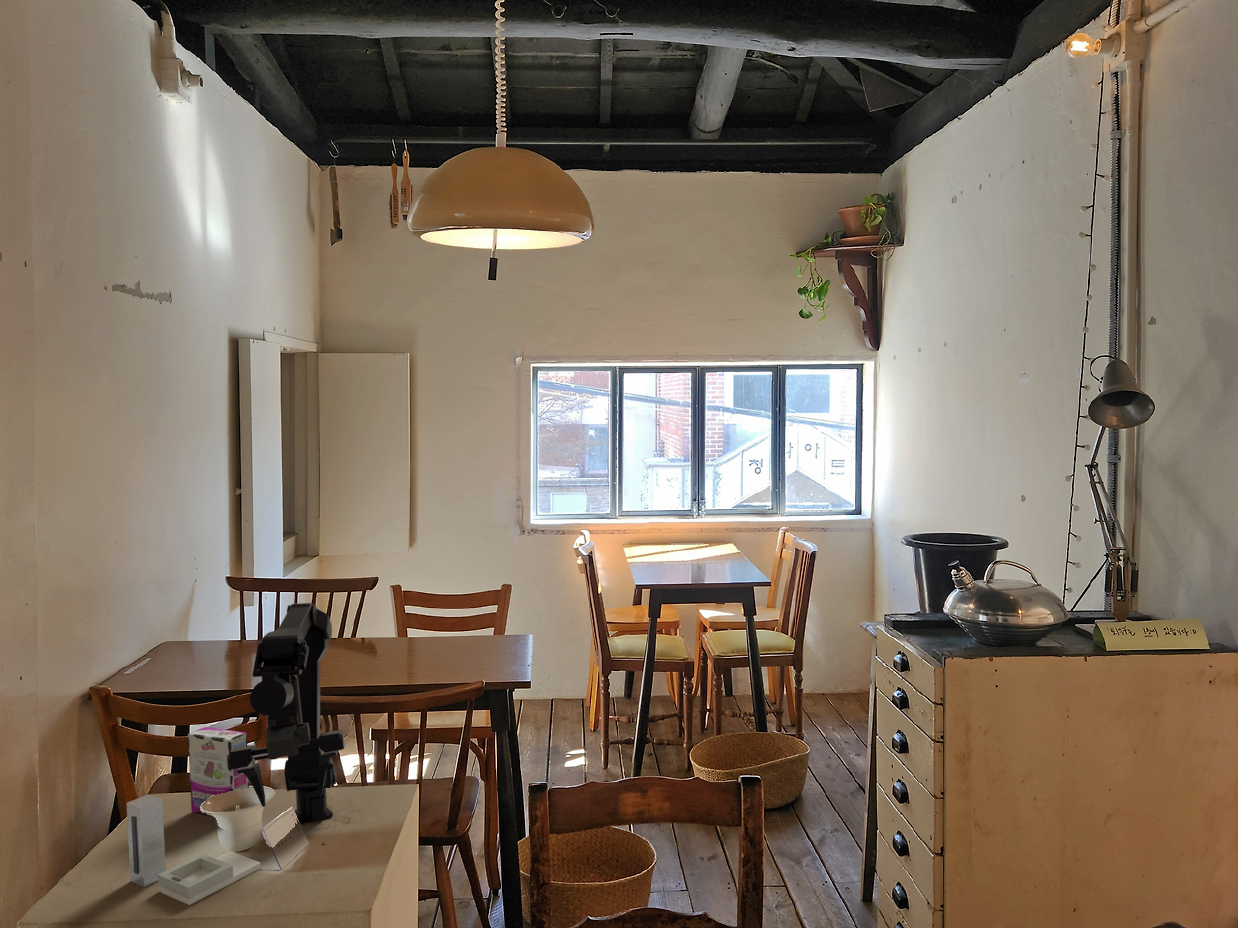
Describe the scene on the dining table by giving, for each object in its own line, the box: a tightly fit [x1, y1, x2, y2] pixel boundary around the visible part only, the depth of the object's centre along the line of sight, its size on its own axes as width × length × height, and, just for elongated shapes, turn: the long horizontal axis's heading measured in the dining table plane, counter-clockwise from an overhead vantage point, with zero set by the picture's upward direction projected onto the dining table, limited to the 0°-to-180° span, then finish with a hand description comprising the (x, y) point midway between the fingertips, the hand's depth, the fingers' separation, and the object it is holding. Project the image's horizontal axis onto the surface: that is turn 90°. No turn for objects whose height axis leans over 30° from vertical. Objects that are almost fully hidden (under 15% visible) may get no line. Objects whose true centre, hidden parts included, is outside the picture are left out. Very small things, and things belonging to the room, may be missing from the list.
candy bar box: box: [187, 726, 250, 817], centre depth 190 cm, size 11×5×16 cm, turn 68°
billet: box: [126, 794, 167, 888], centre depth 164 cm, size 4×4×14 cm
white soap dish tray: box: [157, 850, 262, 906], centre depth 164 cm, size 14×8×3 cm, turn 149°
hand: (292, 800), depth 161 cm, fingers open, 9 cm apart
